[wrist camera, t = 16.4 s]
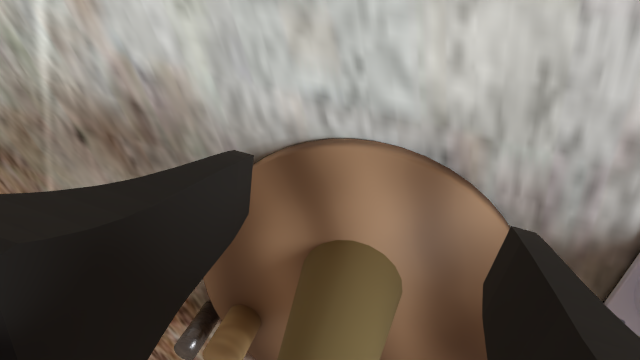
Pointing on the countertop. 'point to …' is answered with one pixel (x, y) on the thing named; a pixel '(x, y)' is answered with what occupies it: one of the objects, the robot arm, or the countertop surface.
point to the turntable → (364, 227)
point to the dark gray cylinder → (197, 332)
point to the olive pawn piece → (342, 304)
